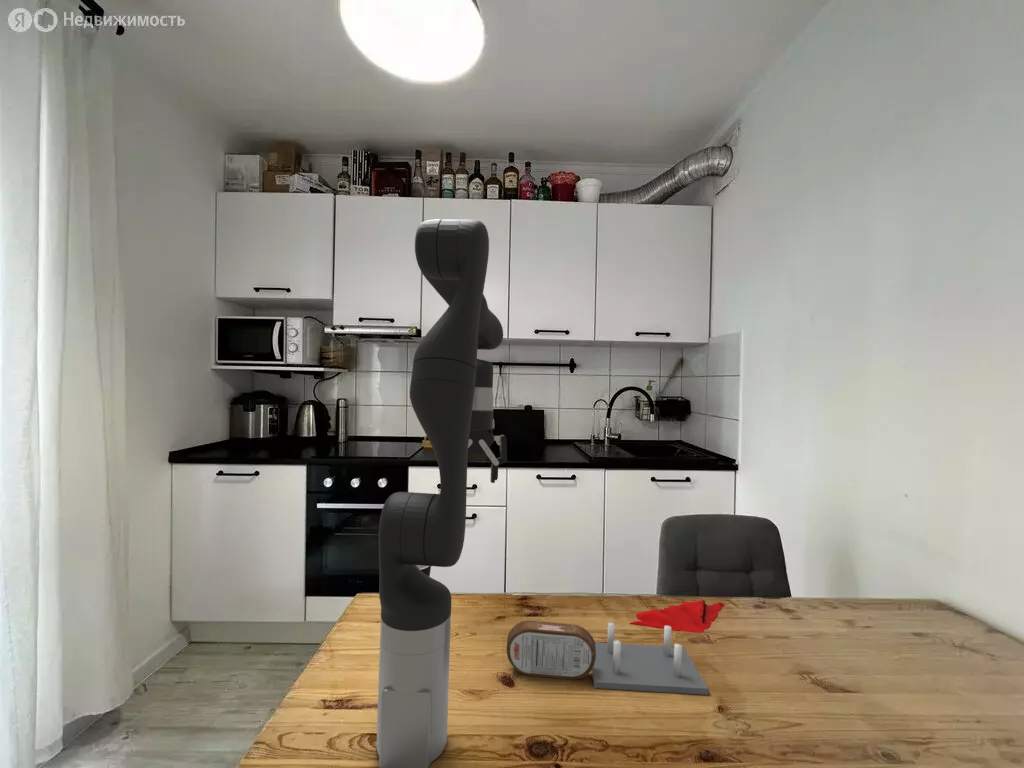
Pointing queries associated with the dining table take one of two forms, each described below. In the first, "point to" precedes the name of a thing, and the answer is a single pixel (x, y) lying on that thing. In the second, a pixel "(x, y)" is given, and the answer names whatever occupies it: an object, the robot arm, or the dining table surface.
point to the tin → (551, 649)
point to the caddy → (646, 667)
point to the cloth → (681, 617)
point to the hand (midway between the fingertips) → (473, 482)
